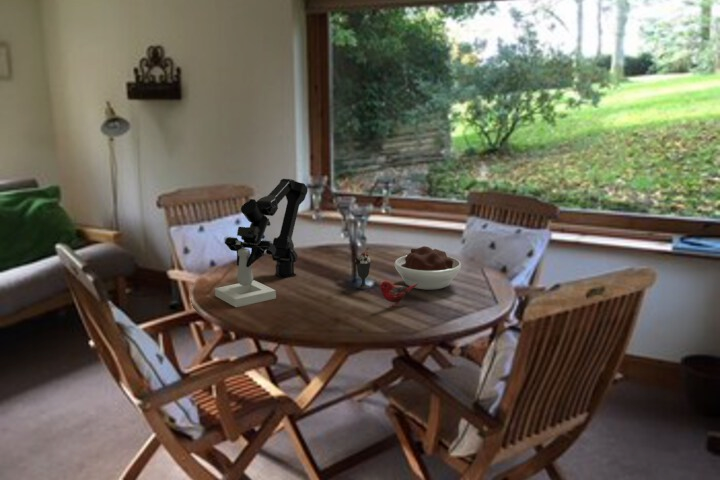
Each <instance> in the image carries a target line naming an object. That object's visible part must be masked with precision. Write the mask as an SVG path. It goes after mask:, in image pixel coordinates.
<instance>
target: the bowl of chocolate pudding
mask: <svg viewBox="0 0 720 480" xmlns="http://www.w3.org/2000/svg"><path fill="white" fill-rule="evenodd" d="M394 268H395V270H396V271H397V273H398V274H399V275H400V276H401V278H402V280H403V283H404V284H405V285H406V286H407V287H410V286H413V285H415V284H418V285H416V286H415V287H414V288H413V289H417V290H428V291H429V290H431V291H432V290H441V289H444V288H446V287H448V286H450V285H451V283H452V281H453V279H454V278H455V277H456V276H457V275H458V274H459V273H460V270H461V268H462V264H461V261H460V260H459V259H457V258H454V257H451V256H448V255H447V253H446V251H443V250H440V249H436V248H434V249H432V248H431V247H429V246H425V245H424V246H421V247H418V248H411V249H410V252H409V253H408V254H407V255H404V256H401V257H398V258H397V259H396V260H395V261H394Z"/></svg>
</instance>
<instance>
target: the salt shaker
mask: <svg viewBox="0 0 720 480" xmlns="http://www.w3.org/2000/svg"><path fill="white" fill-rule="evenodd" d="M250 254H251V250H250V248H243V249H239V250H238V256H240V258H239V266H237V268H238V269H237V276H236V280H237V282H238V283H239V284H240V285H242V286H248V285H251V284H252V281H253V280H254V273H253V270H252V264H251V265H250V266H249V267H247V266H246V264H247V261H248V259H249V256H250Z"/></svg>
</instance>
